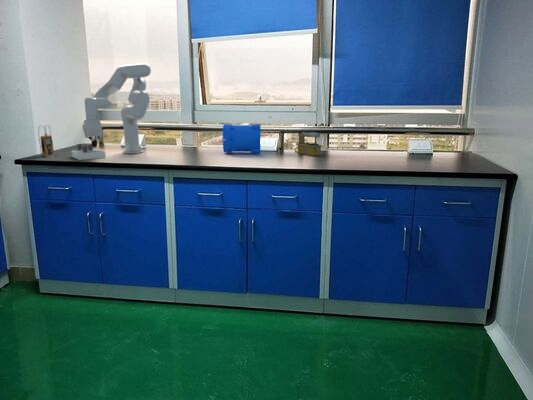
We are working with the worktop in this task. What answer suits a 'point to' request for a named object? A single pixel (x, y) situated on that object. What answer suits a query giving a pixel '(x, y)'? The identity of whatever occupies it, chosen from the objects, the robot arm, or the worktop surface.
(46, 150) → the multimeter
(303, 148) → the geiger counter
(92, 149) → the breaker
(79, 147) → the breaker
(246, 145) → the blue plastic case
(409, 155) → the worktop surface
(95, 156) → the breaker panel
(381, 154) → the worktop surface
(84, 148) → the breaker
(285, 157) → the worktop surface
